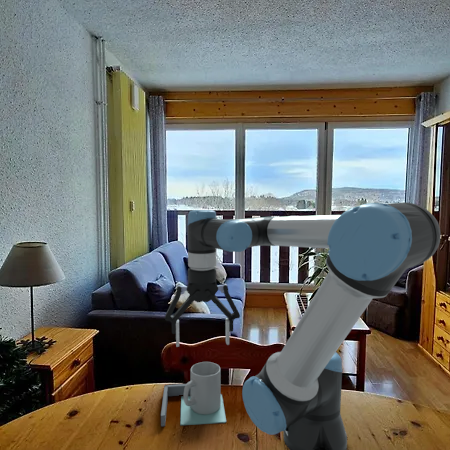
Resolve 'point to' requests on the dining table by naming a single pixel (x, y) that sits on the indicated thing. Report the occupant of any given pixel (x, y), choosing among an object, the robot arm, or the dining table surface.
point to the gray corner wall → (171, 391)
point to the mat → (200, 415)
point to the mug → (204, 388)
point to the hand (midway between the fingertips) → (202, 343)
